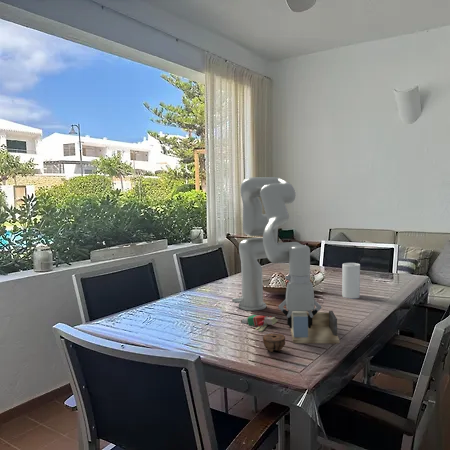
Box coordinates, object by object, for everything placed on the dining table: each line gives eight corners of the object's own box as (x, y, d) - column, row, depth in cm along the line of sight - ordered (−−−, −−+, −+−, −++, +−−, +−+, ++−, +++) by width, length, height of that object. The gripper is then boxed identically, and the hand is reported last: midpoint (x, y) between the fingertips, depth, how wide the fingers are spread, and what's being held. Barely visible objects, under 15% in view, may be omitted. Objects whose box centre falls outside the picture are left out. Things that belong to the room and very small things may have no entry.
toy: (249, 311, 181) (281, 311, 173) (251, 320, 181) (283, 321, 173) (232, 321, 168) (265, 322, 160) (233, 331, 168) (266, 332, 160)
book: (293, 337, 152) (293, 316, 151) (291, 328, 161) (291, 309, 160) (307, 337, 152) (307, 316, 151) (305, 328, 161) (305, 309, 160)
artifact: (259, 353, 141) (259, 339, 141) (266, 345, 148) (265, 331, 148) (282, 356, 138) (282, 341, 138) (287, 348, 145) (287, 334, 145)
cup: (341, 297, 206) (341, 265, 205) (343, 293, 214) (343, 262, 212) (358, 299, 203) (359, 266, 202) (360, 294, 211) (360, 263, 209)
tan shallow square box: (293, 343, 150) (293, 323, 149) (289, 327, 166) (289, 309, 165) (339, 343, 148) (339, 323, 148) (331, 327, 164) (331, 309, 164)
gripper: (276, 281, 151) (276, 330, 153) (325, 281, 150) (325, 330, 152) (275, 276, 159) (275, 323, 161) (322, 276, 157) (322, 323, 159)
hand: (299, 326), depth 156 cm, fingers open, 6 cm apart
